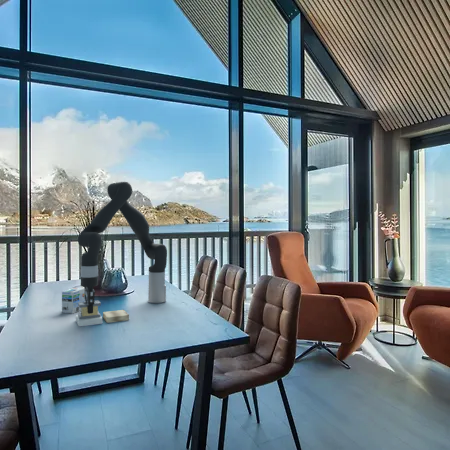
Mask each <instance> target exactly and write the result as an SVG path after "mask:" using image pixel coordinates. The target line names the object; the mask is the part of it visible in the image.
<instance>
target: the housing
mask: <svg viewBox="0 0 450 450" xmlns="http://www.w3.org/2000/svg"><path fill="white" fill-rule="evenodd" d="M90 302H92V300H91V301H90ZM94 302H95V304H94V305H93V313H91V314H88V305H87V304H88V302H78V306H79V307H80V308H81V310H80V313H77V315H78V317H79V319H87V318H95V317H102V315H101V313H100V312H99V310H98V309H99V306H101V305H102V302H101V301H100V300H94Z"/></svg>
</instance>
